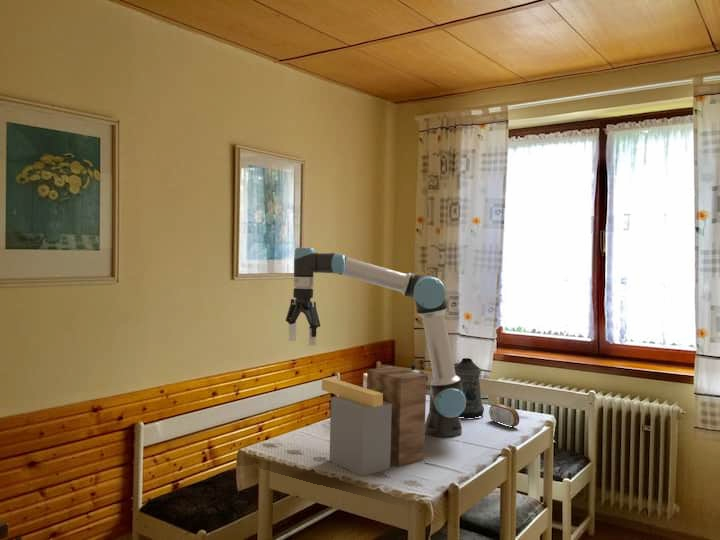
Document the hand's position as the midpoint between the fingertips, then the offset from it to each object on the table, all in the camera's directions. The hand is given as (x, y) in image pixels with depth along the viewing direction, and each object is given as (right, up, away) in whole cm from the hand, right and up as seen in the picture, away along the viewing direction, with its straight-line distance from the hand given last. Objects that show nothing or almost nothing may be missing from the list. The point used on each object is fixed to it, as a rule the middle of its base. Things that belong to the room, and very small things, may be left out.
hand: (302, 343), depth 238 cm
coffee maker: (+49, -36, +62) cm, 87 cm away
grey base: (+22, -38, -27) cm, 52 cm away
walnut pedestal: (+34, -38, -17) cm, 54 cm away
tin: (+84, -38, +26) cm, 96 cm away
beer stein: (+69, -37, +43) cm, 90 cm away
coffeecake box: (+28, -37, +26) cm, 53 cm away
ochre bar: (+19, -16, -24) cm, 34 cm away
